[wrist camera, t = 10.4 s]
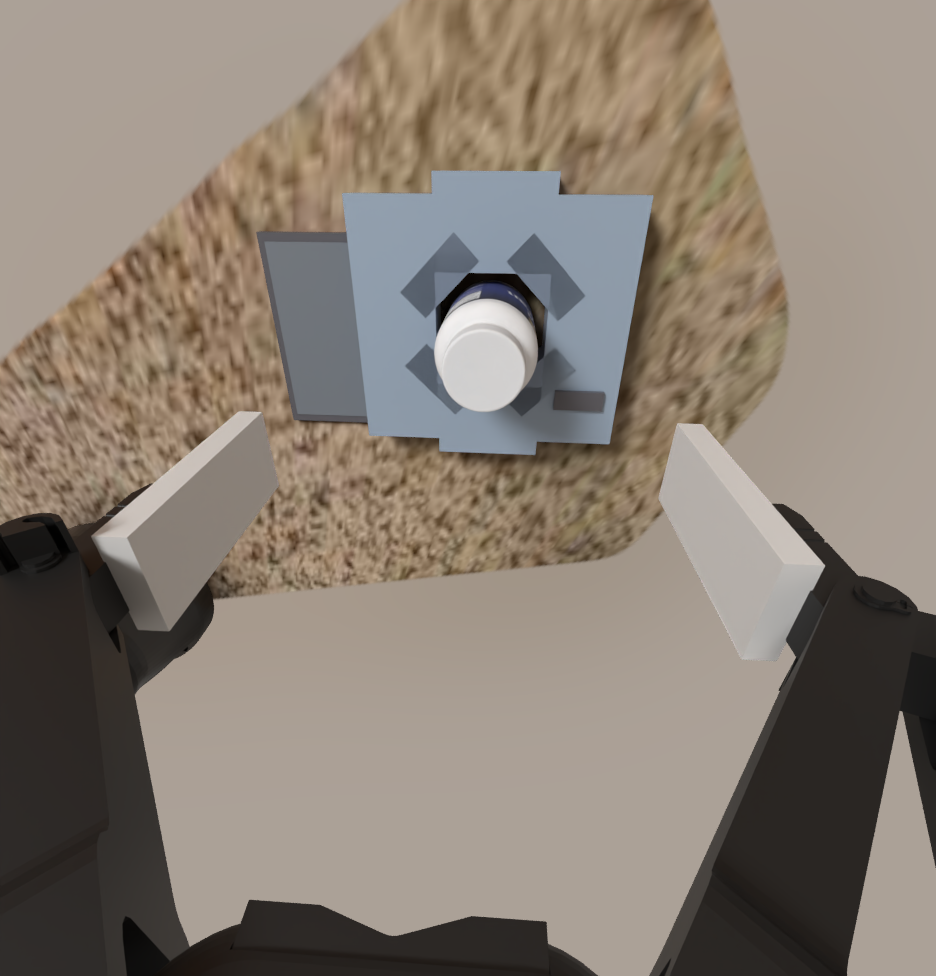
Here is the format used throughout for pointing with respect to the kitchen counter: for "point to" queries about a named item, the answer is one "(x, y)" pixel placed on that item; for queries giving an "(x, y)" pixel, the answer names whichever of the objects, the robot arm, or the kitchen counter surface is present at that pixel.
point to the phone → (315, 323)
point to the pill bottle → (487, 346)
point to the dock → (495, 249)
